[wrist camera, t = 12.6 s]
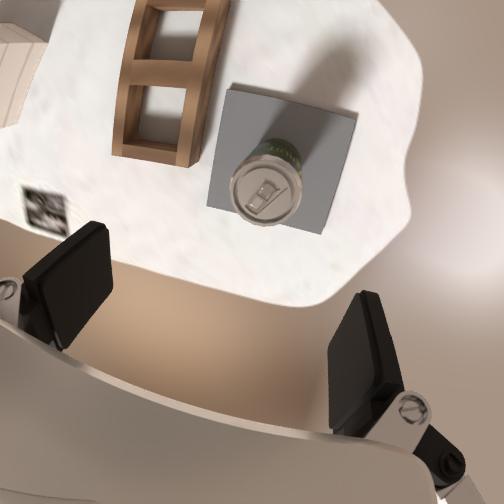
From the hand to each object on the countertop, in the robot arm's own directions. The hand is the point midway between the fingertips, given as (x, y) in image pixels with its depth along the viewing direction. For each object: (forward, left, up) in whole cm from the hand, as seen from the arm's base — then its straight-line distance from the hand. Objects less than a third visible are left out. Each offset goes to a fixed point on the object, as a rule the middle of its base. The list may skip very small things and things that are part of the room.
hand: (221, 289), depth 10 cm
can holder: (-8, -14, -24) cm, 29 cm away
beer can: (0, 0, -24) cm, 24 cm away
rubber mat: (0, 0, -24) cm, 24 cm away
